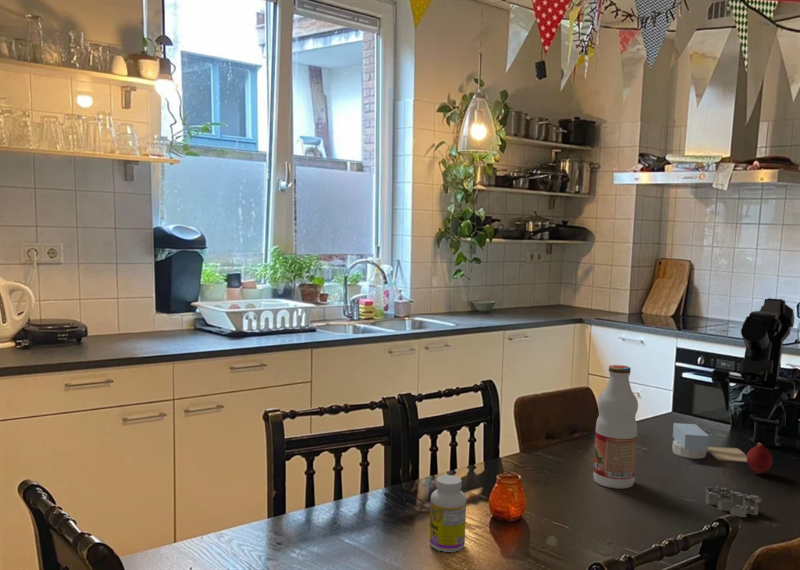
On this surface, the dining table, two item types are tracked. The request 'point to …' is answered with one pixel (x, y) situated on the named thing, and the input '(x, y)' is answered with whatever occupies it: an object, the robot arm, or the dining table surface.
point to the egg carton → (732, 501)
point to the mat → (727, 454)
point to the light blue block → (690, 436)
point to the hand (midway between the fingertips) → (747, 414)
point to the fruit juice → (616, 432)
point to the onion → (759, 459)
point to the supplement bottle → (447, 515)
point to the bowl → (687, 452)
